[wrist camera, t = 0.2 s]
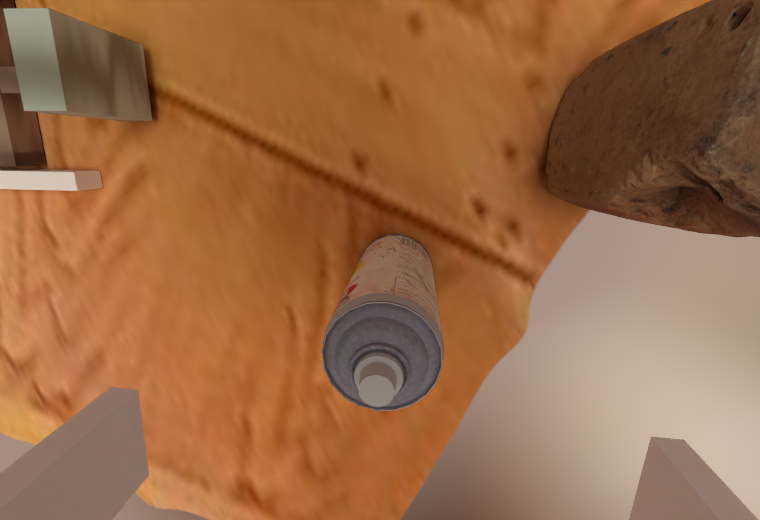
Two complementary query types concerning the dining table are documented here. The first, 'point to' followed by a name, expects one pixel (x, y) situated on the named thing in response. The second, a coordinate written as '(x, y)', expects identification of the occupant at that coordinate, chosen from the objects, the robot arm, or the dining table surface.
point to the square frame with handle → (62, 77)
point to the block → (668, 125)
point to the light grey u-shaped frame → (50, 179)
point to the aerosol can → (386, 328)
